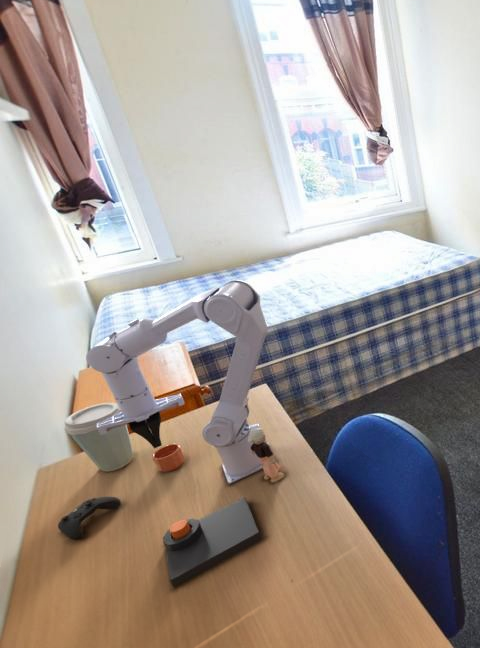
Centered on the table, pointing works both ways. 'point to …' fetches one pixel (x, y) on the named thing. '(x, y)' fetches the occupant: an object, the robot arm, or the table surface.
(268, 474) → the grandmother figurine
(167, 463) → the dish
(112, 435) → the disposable coffee cup
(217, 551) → the grey push button box
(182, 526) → the tare button
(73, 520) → the game controller
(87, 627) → the table surface
